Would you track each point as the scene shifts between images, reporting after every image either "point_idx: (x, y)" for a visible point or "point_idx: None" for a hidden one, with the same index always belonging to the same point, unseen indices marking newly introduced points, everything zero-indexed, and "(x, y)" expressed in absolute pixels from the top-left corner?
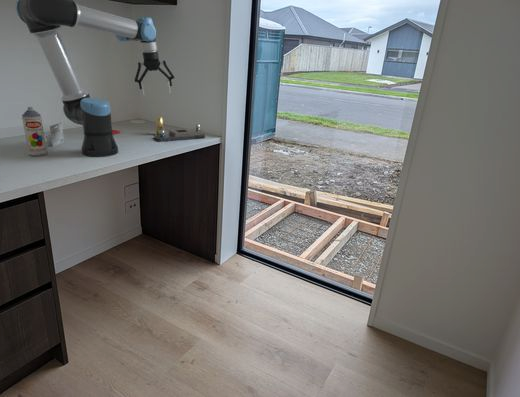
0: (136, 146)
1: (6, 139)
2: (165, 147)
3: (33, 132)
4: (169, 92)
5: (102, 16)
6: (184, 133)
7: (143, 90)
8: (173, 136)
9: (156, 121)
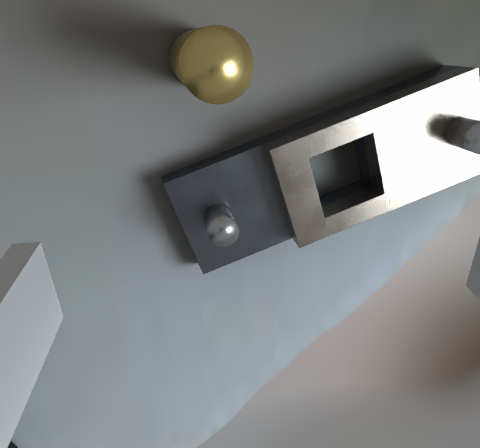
0: (86, 364)
1: None
2: (227, 362)
3: None
4: (473, 278)
5: None
6: (354, 222)
7: (22, 392)
8: (283, 227)
9: (184, 84)
